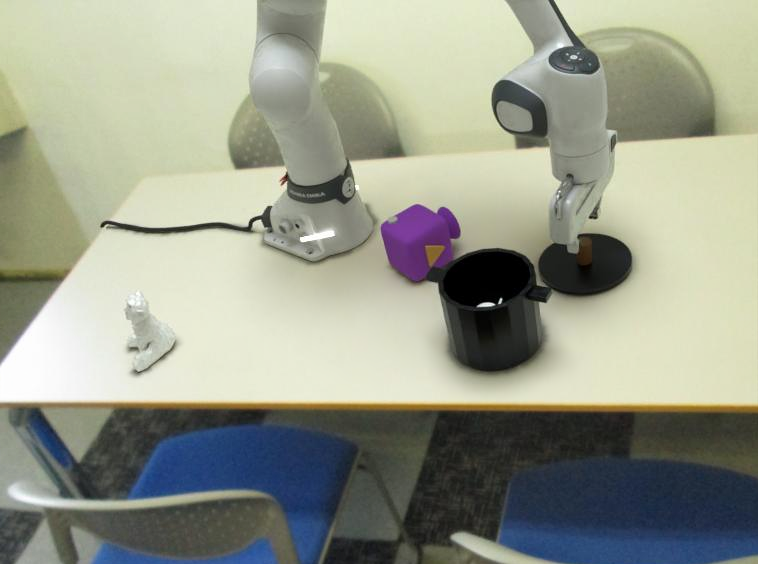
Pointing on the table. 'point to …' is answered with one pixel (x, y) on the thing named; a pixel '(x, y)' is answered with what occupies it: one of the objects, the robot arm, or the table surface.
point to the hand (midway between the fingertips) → (584, 233)
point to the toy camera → (419, 239)
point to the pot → (491, 307)
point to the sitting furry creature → (146, 332)
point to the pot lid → (586, 264)
